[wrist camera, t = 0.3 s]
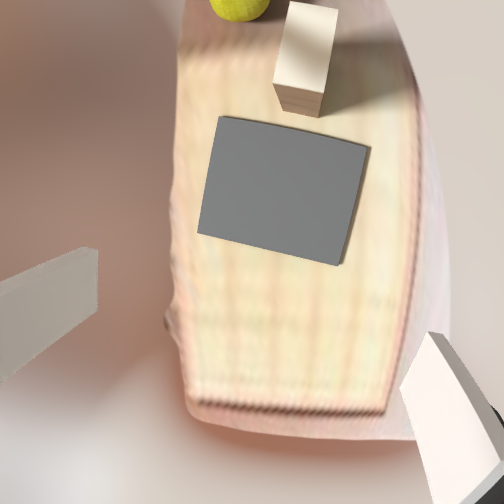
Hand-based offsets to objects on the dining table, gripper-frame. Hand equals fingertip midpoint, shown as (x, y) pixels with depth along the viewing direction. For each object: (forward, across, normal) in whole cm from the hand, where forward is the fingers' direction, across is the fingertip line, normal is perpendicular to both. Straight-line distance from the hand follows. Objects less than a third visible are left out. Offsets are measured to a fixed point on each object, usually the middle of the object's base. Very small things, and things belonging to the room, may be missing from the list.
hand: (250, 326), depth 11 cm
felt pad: (+26, -2, +3) cm, 26 cm away
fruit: (+26, -10, +25) cm, 38 cm away
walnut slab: (+26, -1, +16) cm, 31 cm away
